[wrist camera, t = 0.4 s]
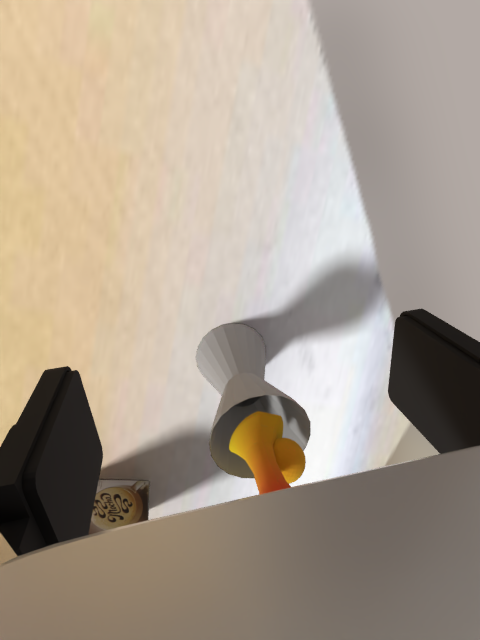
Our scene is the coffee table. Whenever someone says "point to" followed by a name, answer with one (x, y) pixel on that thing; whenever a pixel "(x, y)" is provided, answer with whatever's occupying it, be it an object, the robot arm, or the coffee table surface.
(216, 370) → the lava lamp
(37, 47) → the coffee table surface
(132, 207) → the coffee table surface
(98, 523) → the coffee box
